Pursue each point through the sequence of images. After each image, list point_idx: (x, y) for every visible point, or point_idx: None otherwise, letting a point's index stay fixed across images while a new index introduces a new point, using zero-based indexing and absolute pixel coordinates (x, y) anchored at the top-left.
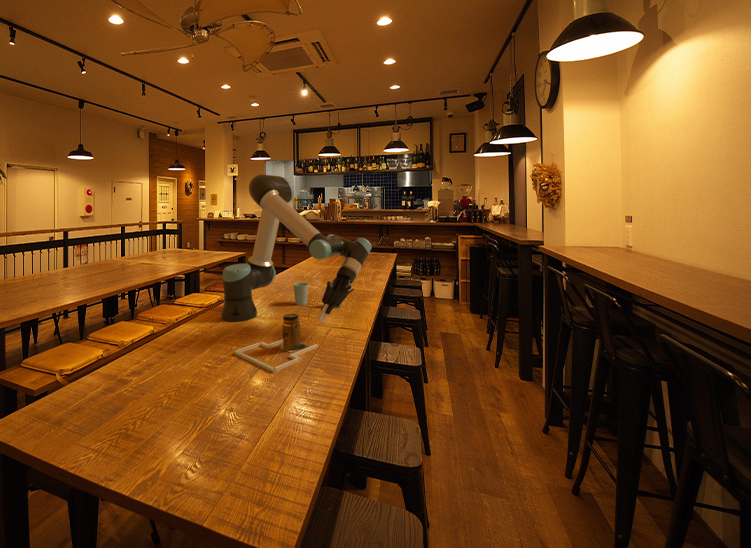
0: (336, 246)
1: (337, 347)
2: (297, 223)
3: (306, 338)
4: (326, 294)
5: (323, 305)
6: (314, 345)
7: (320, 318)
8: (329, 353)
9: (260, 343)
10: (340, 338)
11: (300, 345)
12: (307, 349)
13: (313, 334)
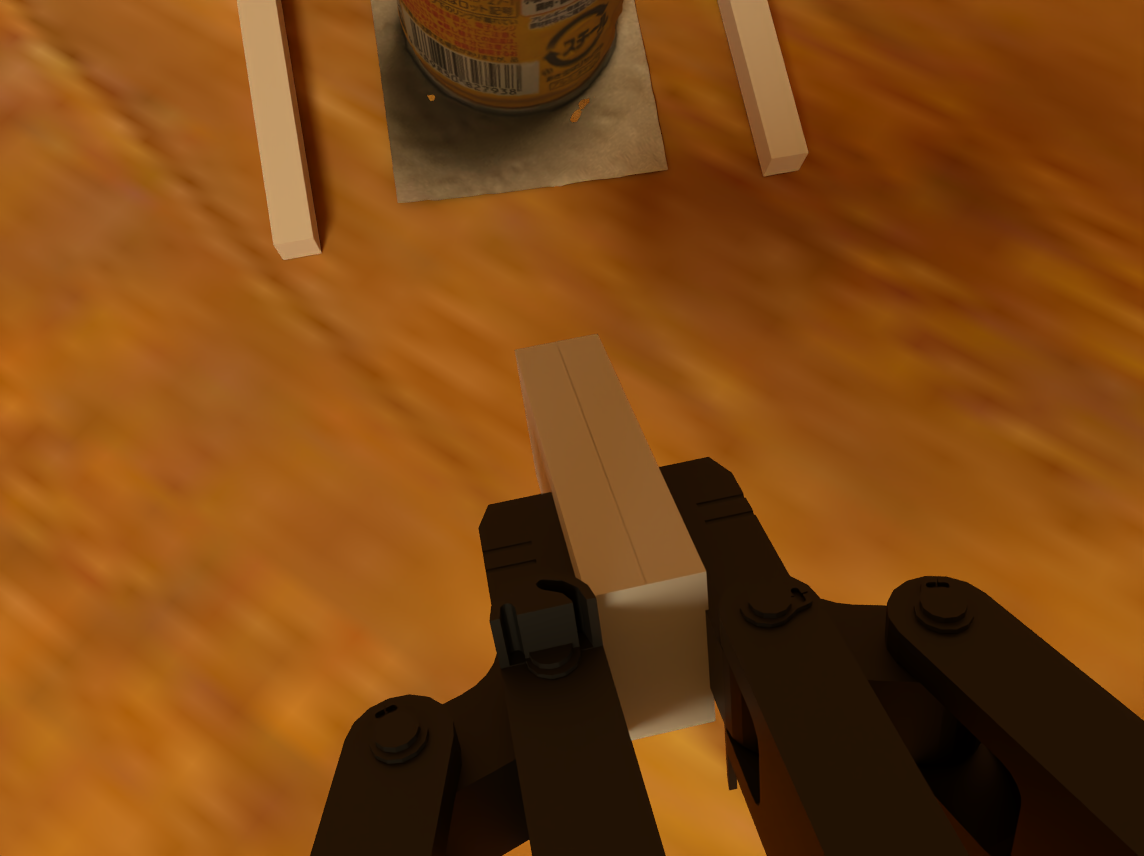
0: None
1: (92, 463)
2: None
3: (676, 308)
4: (1107, 839)
5: (780, 564)
6: (284, 196)
7: (519, 370)
8: (10, 268)
9: None
10: (344, 708)
11: (493, 121)
12: (248, 75)
13: (760, 470)
